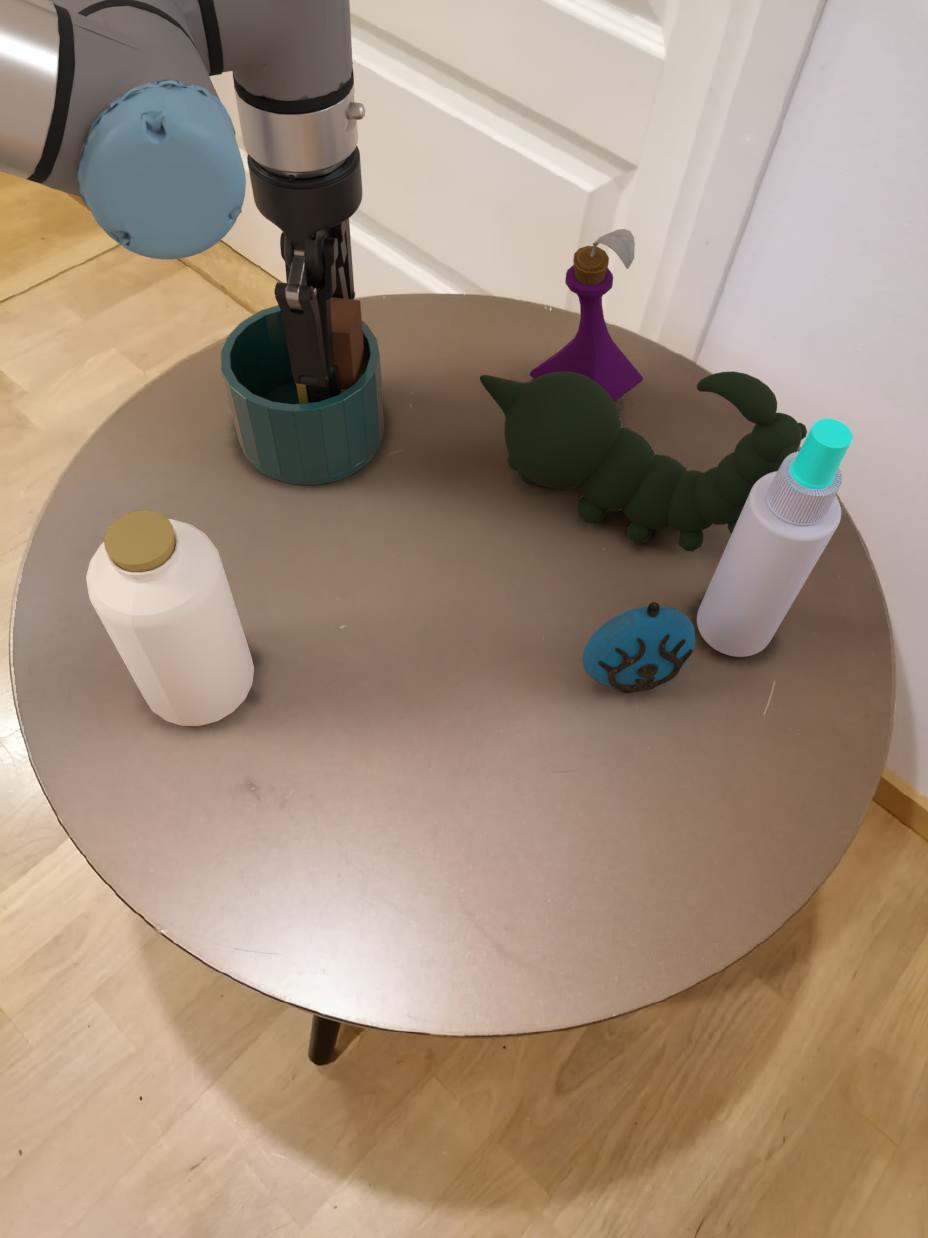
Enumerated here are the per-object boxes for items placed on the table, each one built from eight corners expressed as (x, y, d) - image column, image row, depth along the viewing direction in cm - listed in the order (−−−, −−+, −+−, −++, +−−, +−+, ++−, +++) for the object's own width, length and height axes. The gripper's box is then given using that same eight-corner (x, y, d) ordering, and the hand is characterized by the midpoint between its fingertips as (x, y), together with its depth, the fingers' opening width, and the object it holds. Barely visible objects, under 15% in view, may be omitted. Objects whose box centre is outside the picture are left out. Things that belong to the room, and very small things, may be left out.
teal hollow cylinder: (221, 474, 82) (200, 399, 74) (260, 372, 89) (245, 293, 81) (367, 494, 81) (361, 420, 74) (395, 389, 88) (392, 311, 81)
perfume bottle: (525, 399, 88) (545, 228, 73) (580, 362, 91) (609, 191, 76) (583, 443, 85) (616, 276, 70) (637, 404, 88) (680, 235, 73)
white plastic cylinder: (187, 619, 74) (124, 465, 59) (277, 661, 72) (237, 513, 57) (121, 703, 70) (36, 560, 54) (215, 750, 68) (154, 615, 53)
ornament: (584, 711, 70) (605, 642, 62) (570, 658, 73) (588, 586, 64) (689, 696, 71) (724, 627, 63) (672, 645, 74) (703, 571, 65)
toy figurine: (743, 525, 83) (491, 409, 86) (840, 369, 66) (526, 234, 70) (708, 604, 78) (444, 478, 82) (805, 457, 62) (469, 308, 65)
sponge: (359, 441, 82) (349, 333, 72) (304, 434, 83) (286, 325, 73) (368, 409, 85) (360, 300, 75) (314, 402, 85) (298, 292, 75)
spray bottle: (770, 602, 76) (879, 404, 58) (771, 665, 73) (886, 477, 55) (696, 590, 77) (780, 391, 58) (693, 653, 74) (782, 463, 55)
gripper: (329, 232, 57) (355, 483, 77) (382, 86, 67) (394, 344, 86) (210, 218, 58) (266, 472, 78) (279, 74, 67) (314, 334, 87)
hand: (333, 404), depth 82 cm, fingers closed on sponge, 4 cm apart
